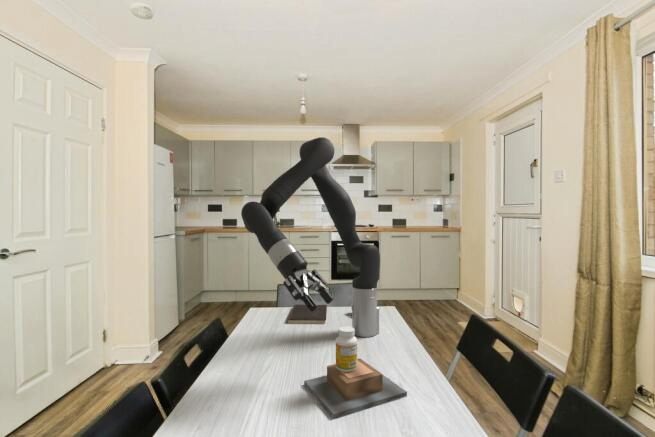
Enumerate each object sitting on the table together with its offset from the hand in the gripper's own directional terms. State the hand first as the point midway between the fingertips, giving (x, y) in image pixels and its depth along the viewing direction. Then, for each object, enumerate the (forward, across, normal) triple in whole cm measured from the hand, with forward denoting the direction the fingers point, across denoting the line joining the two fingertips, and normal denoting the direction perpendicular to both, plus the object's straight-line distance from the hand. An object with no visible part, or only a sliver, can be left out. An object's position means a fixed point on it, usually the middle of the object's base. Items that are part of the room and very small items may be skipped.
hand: (323, 305), depth 85 cm
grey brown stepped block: (+20, 0, +8) cm, 22 cm away
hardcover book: (-9, +49, +38) cm, 63 cm away
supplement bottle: (+15, 0, +6) cm, 16 cm away
